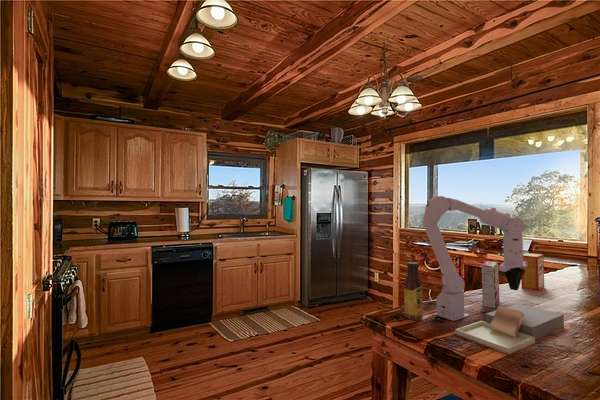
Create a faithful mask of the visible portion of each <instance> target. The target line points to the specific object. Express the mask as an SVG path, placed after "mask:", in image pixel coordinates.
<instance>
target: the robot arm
mask: <svg viewBox="0 0 600 400" xmlns="http://www.w3.org/2000/svg"><path fill="white" fill-rule="evenodd" d="M448 211H449V212H452V211H453V212H454V211H459V212H461V213H465V214H467V215H469V216H470V215H471V216H473V217H476V218H478V219H479V220H480V222H481V223H482V224H485V225H487V226H490V227H493V228H496V229H498V230H502V231H503V233H502V235H503V236H502V237H503V239H502V242H503V243H502V244H503V245H502V247H503V262H502V263H501V264H498V272H502V273H503V274H504V276H505V278H506V280H507V281H506V282H507V284H508V287H509V289H510V290H513V291H518V290H519V288H520V284H521V278H522V276H523V275H524V273H525V270H524V269H521V267H527V262H526V261H523V254H524V246H523V245H524V242H523V240H524V239H523V232H524V231H525V230H526V224H525V223H524V220H522V219H521V218H520V217H516V216H512V215H511V213H508V212H506V213H505V212H501V211H498V210H497V208H495V207H486V208H484V209H483V208H480V207H477V206H474V205H471V204H470V203H467V202H464V201H462V200H459V199H456V198H452V197H451V198H450V197H445V196H443V195H442V196H441V195H438V196H437V195H436V196H433V197H431V198H430V199H429V200H428V201H427V203H426V205H425V210H424V213H423V218H422V225H423V227H424V229H425V232H426V235H427V238H428V240H429V242H430V244H431V248H432V250H433V253H434V255H435V257H436V260H437V263H438V264H439V269H440V271H441V282H442V283H443V287H442V288H441V289H442V290H441V292H440V293H438V294H437V296H436V312H435V313H434V315H436V316H438V317H442V318H443V319H447V320H450V321H453V322H455V321H458V320H461V319H465V318H468V317H470V316H471V315H470V314H469V313H465V290H464V289H465V286H466V283H465V280H464V279H463V277H461V275H459V273H458V271H457V269H456V266H455V264H454V262H453V259H452V257H451V255H450V253H449V249H448V247H447V245H446V242H445V240H444V237H443V235H442V232H441V230H440V227H439V225H438V223H439V221H440V220H441V218H442V217H443V216H444V215H445V213H447V212H448Z"/></svg>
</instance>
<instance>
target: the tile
mask: <svg viewBox="0 0 600 400" xmlns="http://www.w3.org/2000/svg"><path fill="white" fill-rule="evenodd" d="M506 307H507V306H506ZM506 307H505V306H501V305H498V306H497V308H496V310H495V311H496V313H495V315H494V317H493V320H492V322H491V325H490V328H491V330H492V331H495V332H498V333H501V334H505V335H508V336H511V337H514V338H516V336H517V334H518V331H519V328H520V326H521V323H522V321H523V318H524V314H523V312H522V311H518V310H514V309H510V308H506Z"/></svg>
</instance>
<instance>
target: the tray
mask: <svg viewBox="0 0 600 400" xmlns="http://www.w3.org/2000/svg"><path fill="white" fill-rule="evenodd" d="M490 325H491V323H487V322H486V321H484V320H479V321H476V322H473V323H469V324H467V325H465V326H461V327H457V328H455V329H454V335H456V336H458V337H460V338H464V339H466V340H469V341H471V342H475V343H476V344H480V345H482V346H485V347H488V348H491V349H493V350H496V351H498V352H500V353H504V354H506V355H511V354H513V353H516V352H518V351H520V350H522V349H524V348H527V347H529V346H531V345H533V344H536V340H535V337H533V336H529V335H526V334H523V333H520V332H518V334H517V336H516V338H514V337H511V336H508V335H505V334H501V333H498V332H495V331H492V330H491V328H490Z"/></svg>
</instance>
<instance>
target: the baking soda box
mask: <svg viewBox="0 0 600 400" xmlns="http://www.w3.org/2000/svg"><path fill="white" fill-rule="evenodd" d="M544 256H545V255H544V254H541V253H531V252H526V253H523V261H526V262H527V267H521V268H520V269H524V270H525V273H524V275H523V276H522V278H521V281H520V284H521V290H528V291H529V290H530V291H535V292H539V291H541V290H542V289H544V288H545V267H544V266H545V262H544V260H545V259H544Z"/></svg>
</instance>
